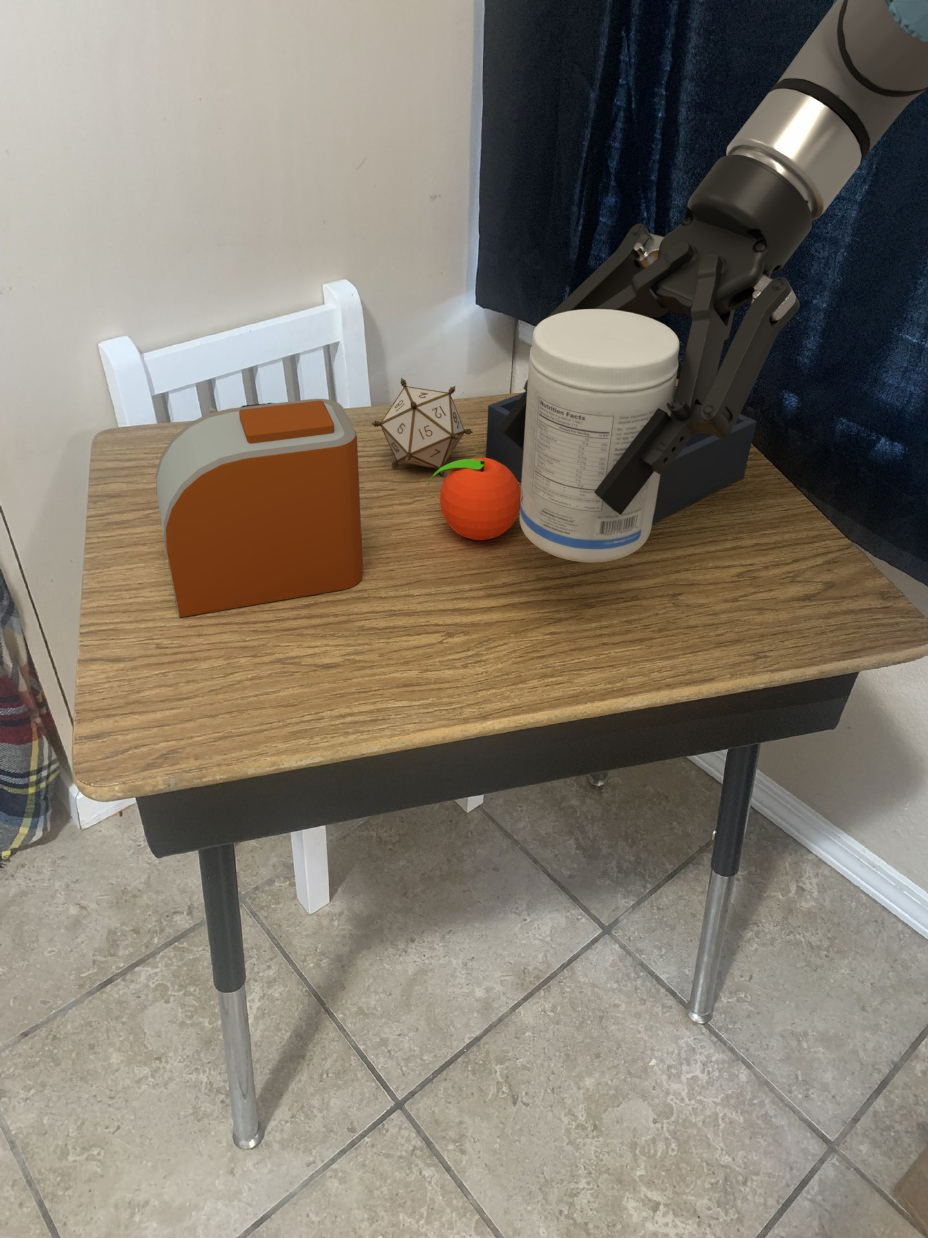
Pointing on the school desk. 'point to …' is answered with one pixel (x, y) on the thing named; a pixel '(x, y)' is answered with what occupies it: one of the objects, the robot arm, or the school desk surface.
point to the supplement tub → (591, 428)
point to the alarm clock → (261, 505)
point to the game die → (422, 427)
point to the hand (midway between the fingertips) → (556, 470)
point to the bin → (682, 484)
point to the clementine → (479, 498)
